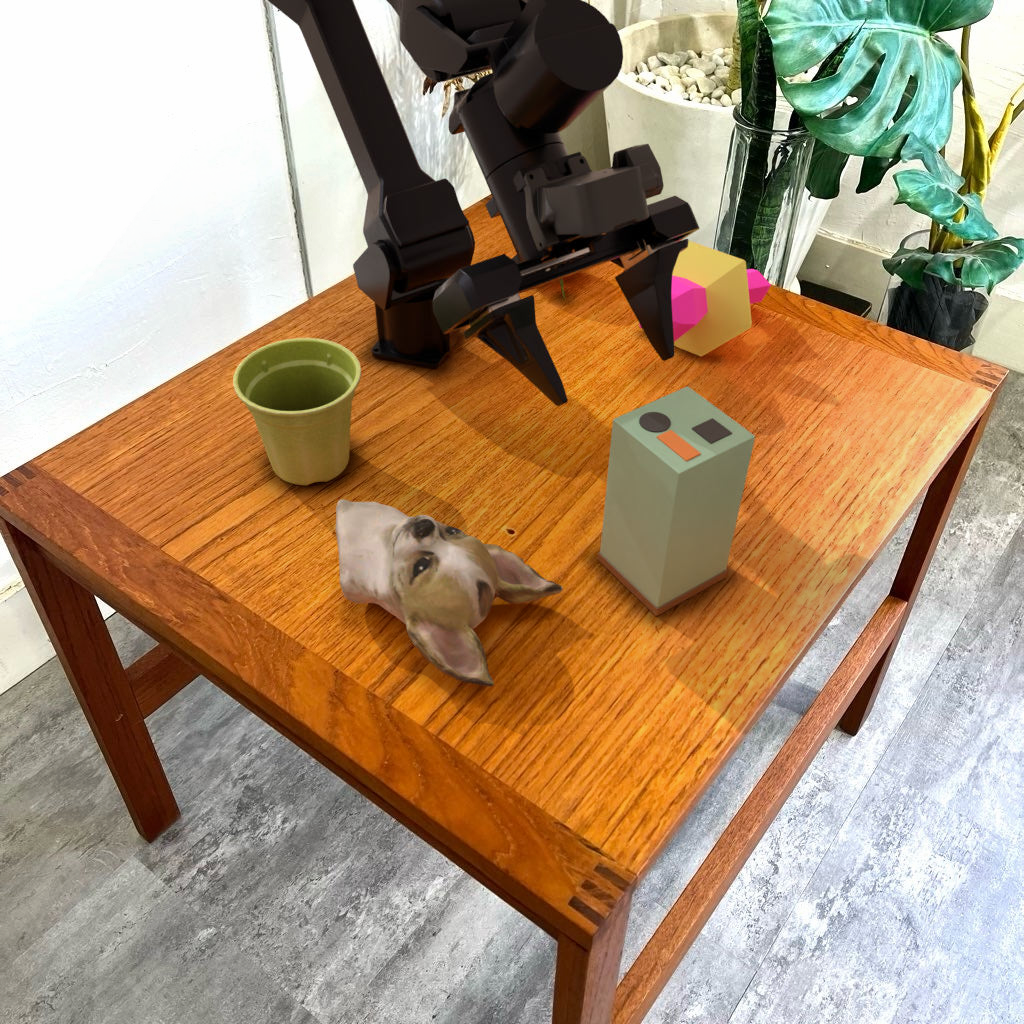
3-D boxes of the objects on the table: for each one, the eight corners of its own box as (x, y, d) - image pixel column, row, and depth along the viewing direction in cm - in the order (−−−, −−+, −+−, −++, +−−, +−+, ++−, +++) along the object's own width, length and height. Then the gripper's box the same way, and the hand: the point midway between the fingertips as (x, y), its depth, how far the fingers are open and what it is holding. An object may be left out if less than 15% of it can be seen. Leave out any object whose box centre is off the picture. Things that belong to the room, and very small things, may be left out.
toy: (794, 333, 98) (784, 222, 95) (712, 373, 84) (698, 243, 81) (698, 340, 104) (686, 235, 101) (607, 378, 90) (591, 258, 87)
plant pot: (392, 444, 84) (384, 356, 78) (330, 515, 78) (316, 426, 72) (295, 413, 87) (280, 326, 81) (228, 480, 81) (206, 391, 75)
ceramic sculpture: (383, 437, 71) (576, 524, 66) (387, 524, 77) (563, 609, 72) (284, 532, 64) (490, 636, 59) (297, 619, 70) (485, 719, 65)
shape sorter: (596, 559, 75) (610, 417, 66) (665, 523, 78) (687, 382, 69) (656, 617, 71) (679, 473, 62) (726, 577, 74) (758, 435, 65)
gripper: (449, 144, 57) (560, 403, 58) (699, 75, 65) (793, 304, 66) (389, 219, 67) (484, 438, 68) (612, 151, 75) (694, 348, 76)
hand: (617, 381), depth 69 cm, fingers open, 9 cm apart
